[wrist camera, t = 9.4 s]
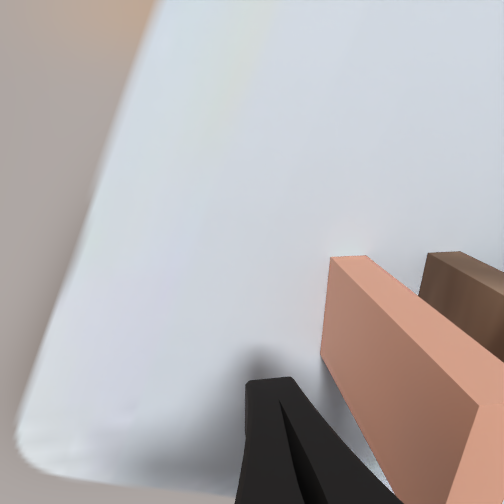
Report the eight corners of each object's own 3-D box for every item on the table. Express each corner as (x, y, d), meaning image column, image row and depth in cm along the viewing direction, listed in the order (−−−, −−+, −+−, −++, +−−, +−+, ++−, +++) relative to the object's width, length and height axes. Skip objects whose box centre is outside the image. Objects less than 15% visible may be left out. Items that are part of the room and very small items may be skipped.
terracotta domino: (365, 255, 14) (547, 397, 7) (351, 351, 16) (483, 545, 9) (330, 257, 14) (479, 406, 7) (320, 354, 16) (427, 556, 8)
